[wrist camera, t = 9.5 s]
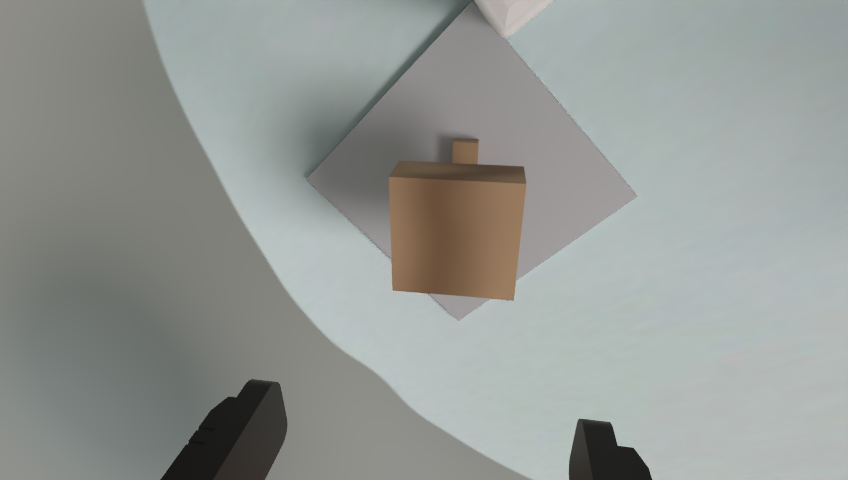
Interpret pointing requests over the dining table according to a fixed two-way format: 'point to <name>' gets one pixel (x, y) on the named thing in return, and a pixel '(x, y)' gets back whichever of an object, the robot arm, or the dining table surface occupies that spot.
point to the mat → (498, 145)
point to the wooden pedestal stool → (456, 225)
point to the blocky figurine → (510, 13)
